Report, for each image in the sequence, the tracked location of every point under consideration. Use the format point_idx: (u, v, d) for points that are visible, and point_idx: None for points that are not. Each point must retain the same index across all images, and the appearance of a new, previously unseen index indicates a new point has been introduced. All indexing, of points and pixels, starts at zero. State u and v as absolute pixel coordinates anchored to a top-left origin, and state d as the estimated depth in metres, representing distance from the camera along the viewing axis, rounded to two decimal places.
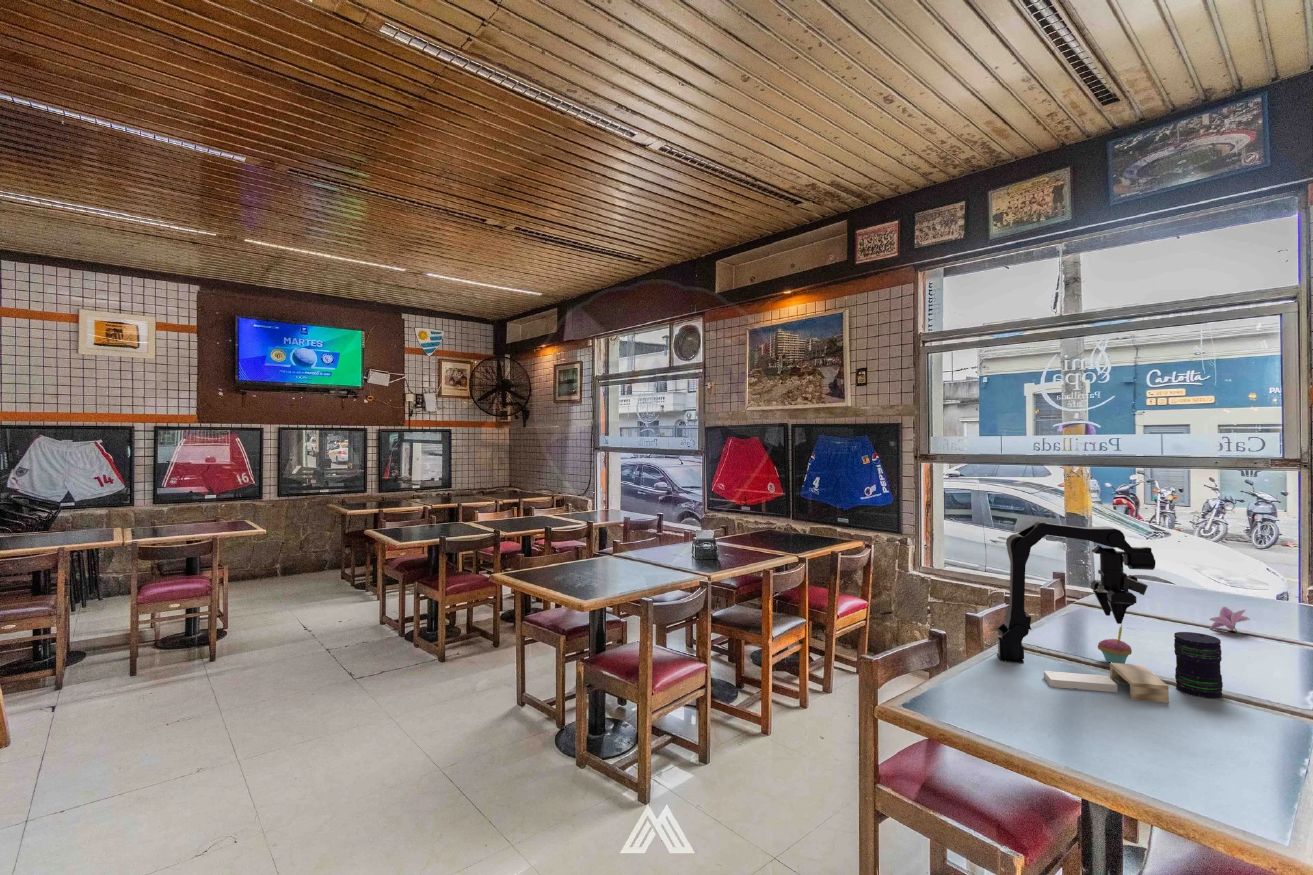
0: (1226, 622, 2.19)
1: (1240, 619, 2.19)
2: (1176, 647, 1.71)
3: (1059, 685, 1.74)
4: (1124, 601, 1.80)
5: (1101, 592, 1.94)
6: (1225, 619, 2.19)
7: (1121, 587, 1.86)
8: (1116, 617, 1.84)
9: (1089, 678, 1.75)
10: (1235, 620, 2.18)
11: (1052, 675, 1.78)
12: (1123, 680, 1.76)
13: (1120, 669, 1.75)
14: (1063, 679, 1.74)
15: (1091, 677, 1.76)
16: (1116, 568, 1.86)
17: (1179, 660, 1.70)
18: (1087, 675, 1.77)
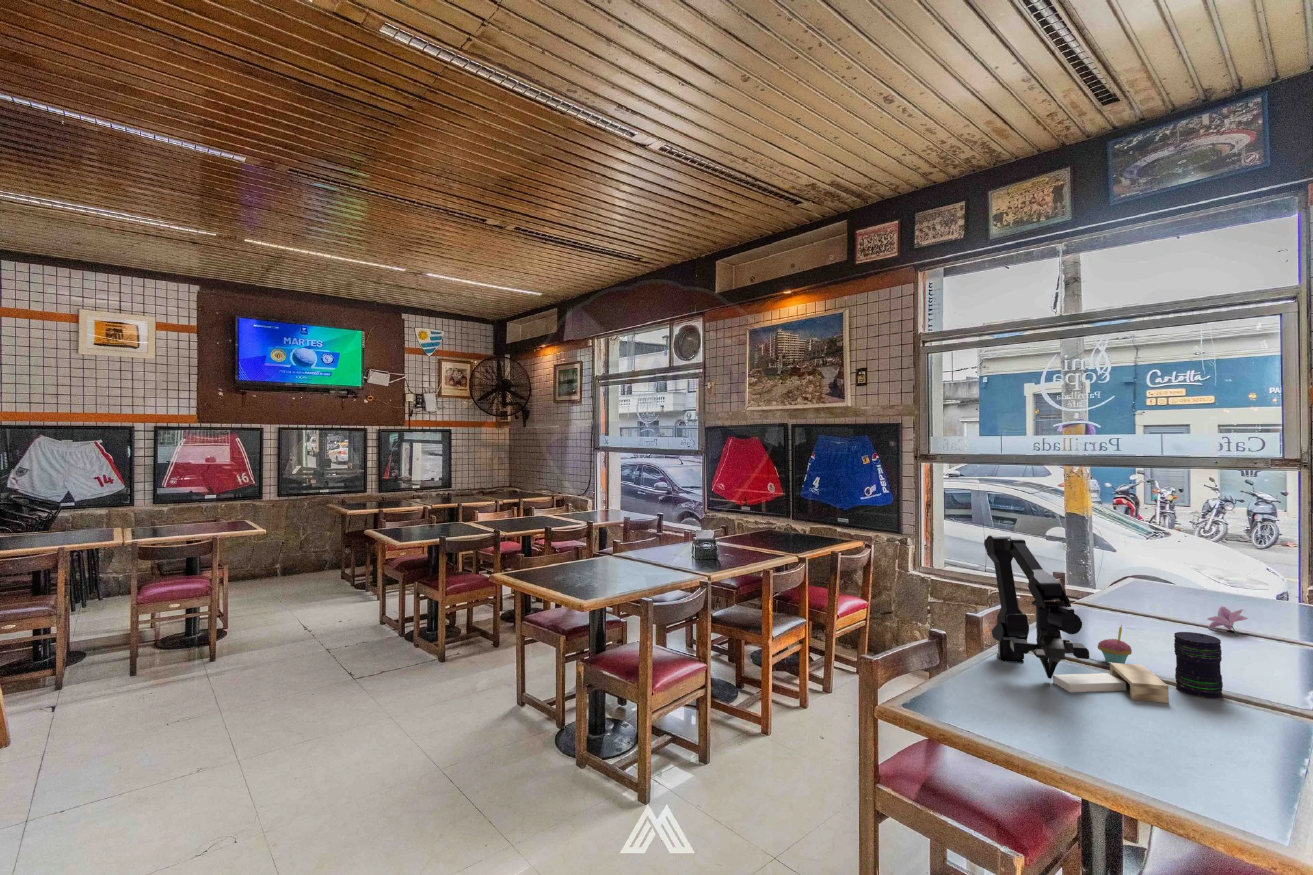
0: (1224, 622, 2.19)
1: (1238, 619, 2.20)
2: (1176, 647, 1.71)
3: (1077, 689, 1.71)
4: (1012, 648, 1.81)
5: None
6: (1223, 619, 2.19)
7: None
8: (1044, 669, 1.79)
9: (1098, 678, 1.74)
10: (1233, 620, 2.18)
11: (1066, 679, 1.74)
12: (1123, 680, 1.76)
13: (1120, 669, 1.75)
14: (1080, 682, 1.71)
15: (1098, 677, 1.75)
16: (1039, 622, 1.78)
17: (1179, 660, 1.70)
18: (1093, 675, 1.77)
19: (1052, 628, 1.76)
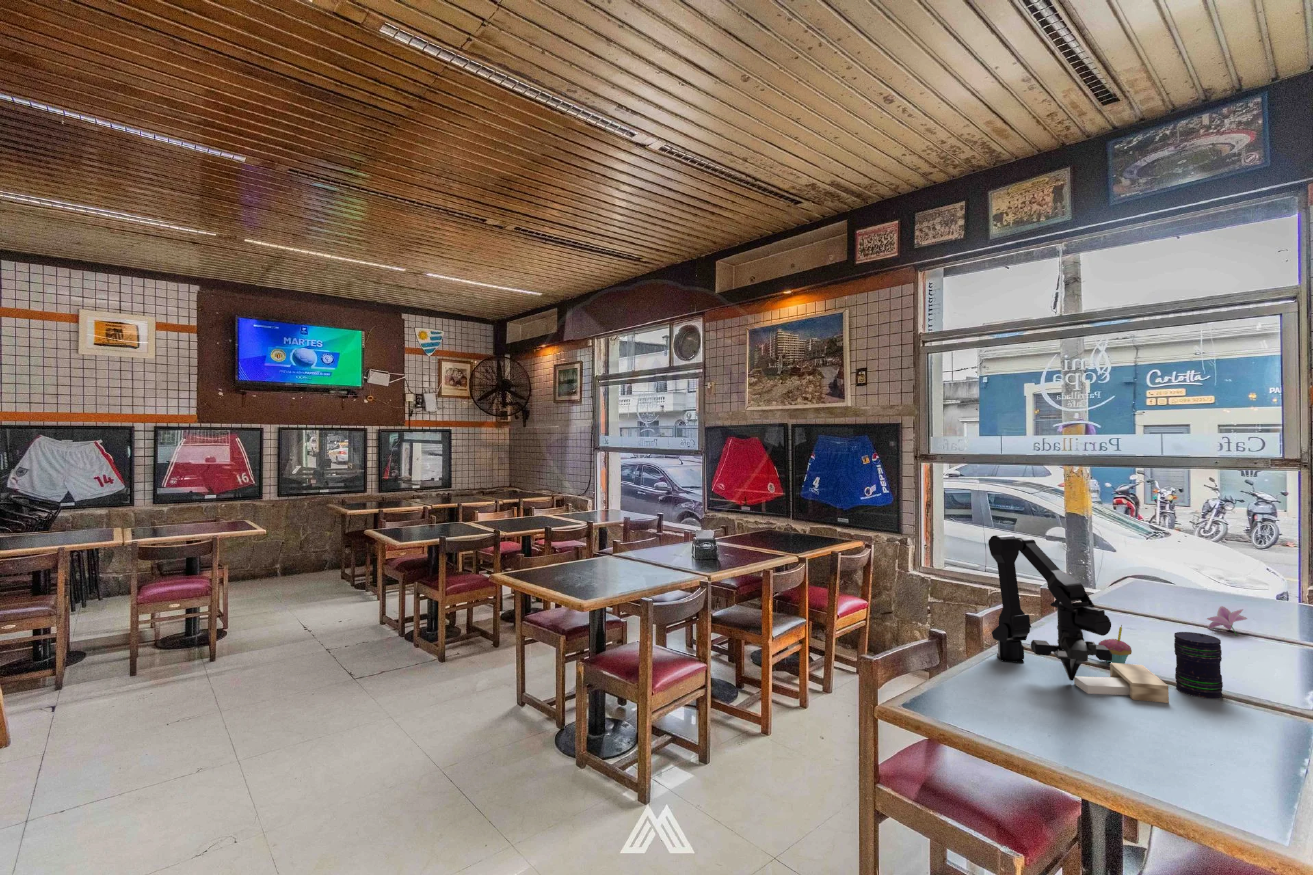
0: (1224, 622, 2.19)
1: (1237, 618, 2.20)
2: (1176, 647, 1.71)
3: (1096, 691, 1.69)
4: (1033, 649, 1.80)
5: None
6: (1223, 619, 2.19)
7: None
8: (1066, 671, 1.78)
9: (1122, 682, 1.71)
10: (1233, 619, 2.18)
11: (1086, 681, 1.72)
12: None
13: (1120, 669, 1.75)
14: (1099, 685, 1.70)
15: (1123, 681, 1.72)
16: (1062, 624, 1.76)
17: (1179, 660, 1.70)
18: (1118, 679, 1.73)
19: (1074, 630, 1.74)
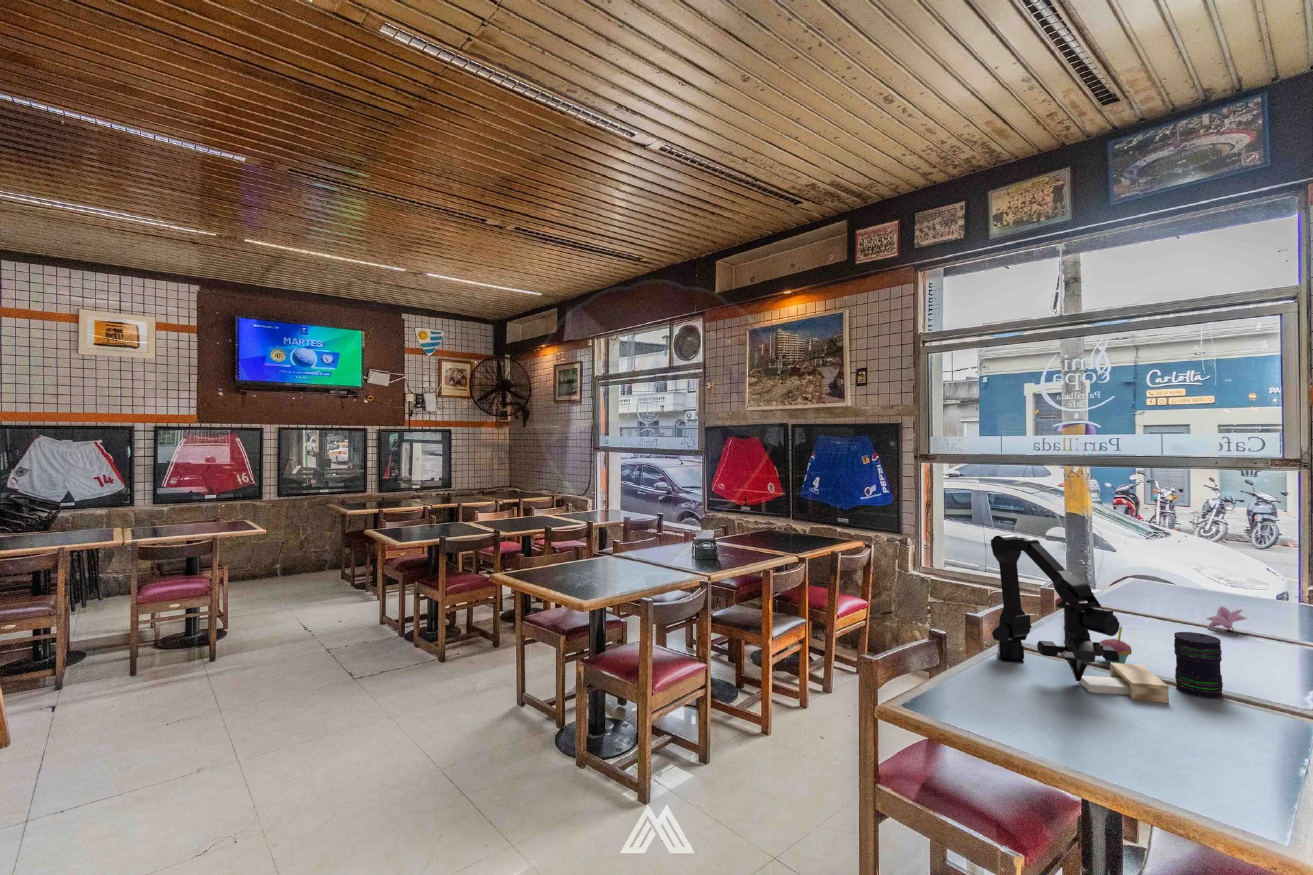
0: (1223, 621, 2.19)
1: (1237, 618, 2.20)
2: (1176, 647, 1.71)
3: (1098, 690, 1.70)
4: (1039, 650, 1.79)
5: None
6: (1222, 618, 2.19)
7: None
8: None
9: (1127, 683, 1.71)
10: (1232, 619, 2.19)
11: (1089, 680, 1.73)
12: None
13: (1120, 669, 1.75)
14: (1102, 684, 1.70)
15: None
16: (1070, 625, 1.75)
17: (1179, 660, 1.70)
18: (1124, 680, 1.73)
19: (1081, 630, 1.73)
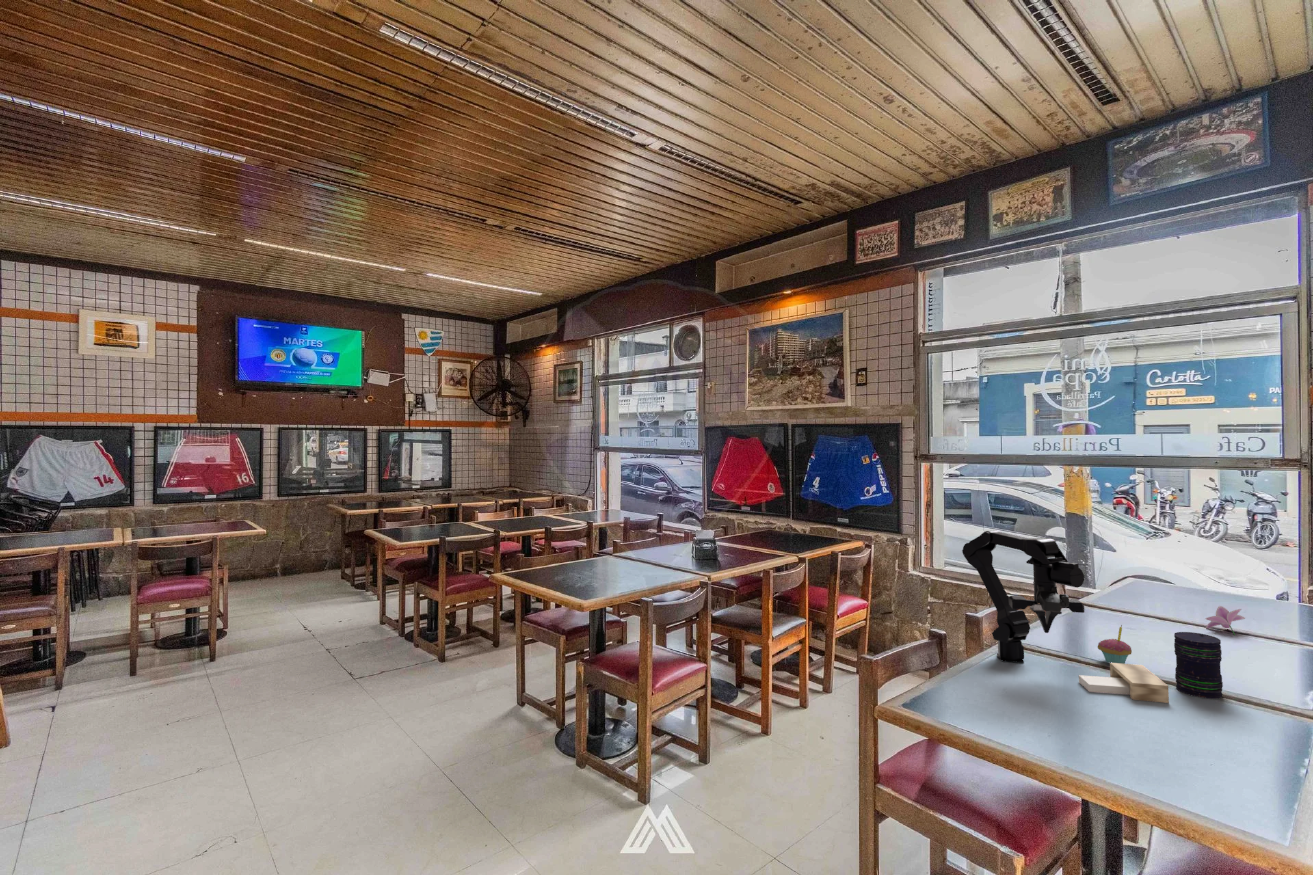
0: (1222, 621, 2.20)
1: (1235, 618, 2.20)
2: (1176, 647, 1.71)
3: (1097, 690, 1.70)
4: (1010, 604, 1.89)
5: None
6: (1221, 618, 2.20)
7: None
8: (1041, 624, 1.87)
9: (1127, 683, 1.71)
10: (1231, 619, 2.19)
11: (1089, 680, 1.74)
12: None
13: (1120, 669, 1.75)
14: (1102, 684, 1.70)
15: None
16: (1038, 580, 1.84)
17: (1179, 660, 1.70)
18: (1124, 680, 1.73)
19: (1049, 584, 1.83)
